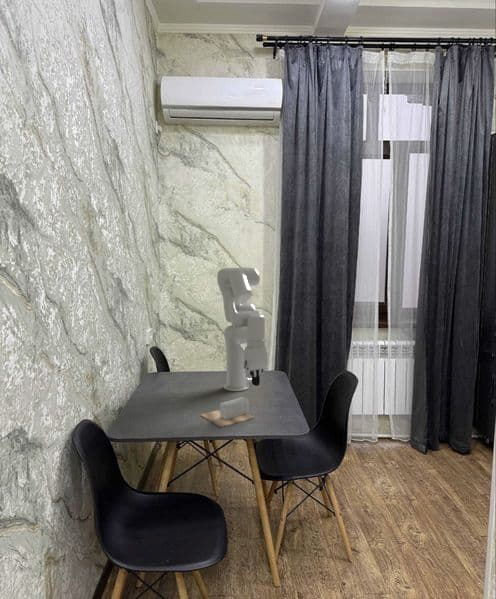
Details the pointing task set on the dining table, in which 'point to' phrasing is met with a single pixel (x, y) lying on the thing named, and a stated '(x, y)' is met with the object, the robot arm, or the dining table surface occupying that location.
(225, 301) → the robot arm
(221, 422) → the wooden board
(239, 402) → the skincare box
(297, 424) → the dining table surface
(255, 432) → the dining table surface
